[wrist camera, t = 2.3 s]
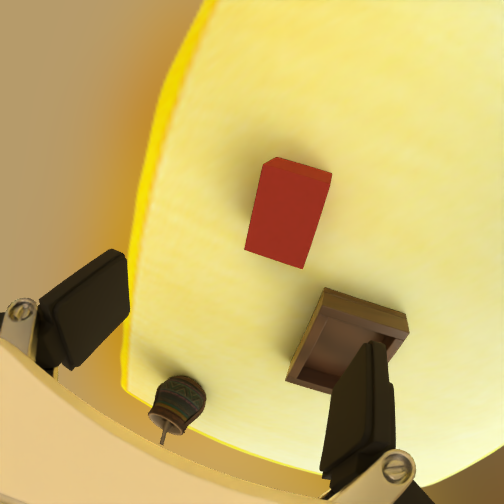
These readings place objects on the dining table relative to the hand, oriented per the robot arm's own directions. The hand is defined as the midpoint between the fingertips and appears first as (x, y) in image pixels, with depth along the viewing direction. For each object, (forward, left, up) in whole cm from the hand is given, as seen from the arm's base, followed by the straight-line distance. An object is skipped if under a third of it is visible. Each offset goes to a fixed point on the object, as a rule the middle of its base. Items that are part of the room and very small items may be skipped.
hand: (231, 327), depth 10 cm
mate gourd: (+31, -7, -15) cm, 35 cm away
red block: (0, 0, -15) cm, 15 cm away
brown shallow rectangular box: (+12, +9, -15) cm, 21 cm away
